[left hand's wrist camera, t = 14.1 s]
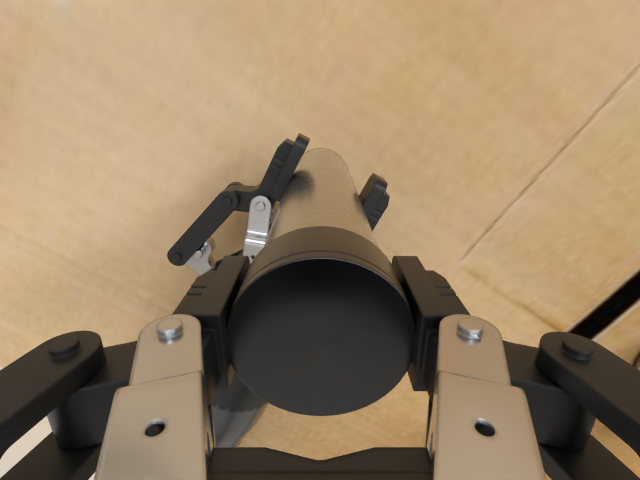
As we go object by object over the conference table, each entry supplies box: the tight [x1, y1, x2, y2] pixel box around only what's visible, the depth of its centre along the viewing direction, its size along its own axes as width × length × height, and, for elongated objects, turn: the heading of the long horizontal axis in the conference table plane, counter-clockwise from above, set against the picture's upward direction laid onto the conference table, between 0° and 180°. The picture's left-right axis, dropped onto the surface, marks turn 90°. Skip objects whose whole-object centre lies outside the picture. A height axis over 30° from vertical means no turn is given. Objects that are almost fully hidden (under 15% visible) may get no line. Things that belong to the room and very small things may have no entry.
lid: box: [226, 226, 416, 416], centre depth 10 cm, size 5×5×2 cm
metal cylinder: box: [263, 148, 378, 248], centre depth 19 cm, size 4×4×20 cm
